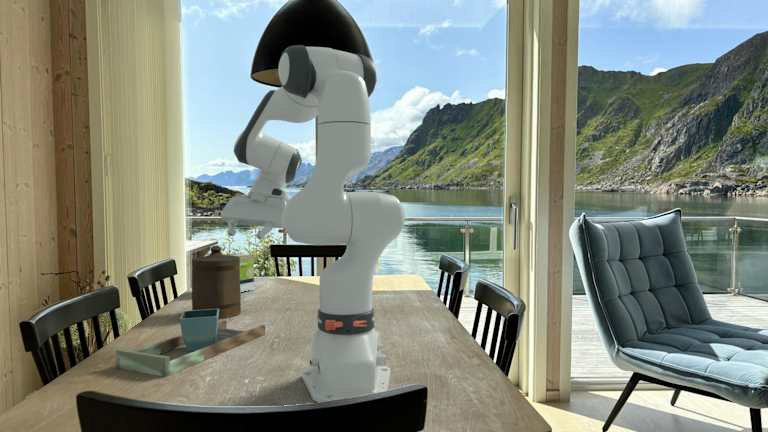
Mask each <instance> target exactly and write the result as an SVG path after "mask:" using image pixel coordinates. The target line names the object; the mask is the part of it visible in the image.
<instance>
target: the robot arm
mask: <svg viewBox="0 0 768 432" xmlns="http://www.w3.org/2000/svg"><path fill="white" fill-rule="evenodd" d="M277 71H278V79H279V83H280V86H281V87H279V88H277V89H271V90H269V91H268V92H266V94H265V95H264V96H263V98H262V100H261V101H260V103H259V104H258V105H257V107H256V110H255V111H254V112H253V114H252V116H251V117H250V119H249V121H248V123H247V125H246V126H245V128H244V130H243V131H242V132H241V133H240V134H239V135H238V137H237V138H236V140H235V142H234V146H233V153H234V155H235V158H236V160H237V161H238V162H239V163H242V164H244V165H247V166H250V167H253V168H255V169H258V170H259V173H258V176H257V178H255V180H254V182H253V183H252V186H251V188H250V189H249V191H248V193H247V194H243V195H242V194H236V196H233V197H231V198H230V200H228V202H227V203H226V205H225V206H224V207H223V209H222V211H221V212H220V217H221V218H222V220H223V221H224V222H225V223H226V224H228V230H227V231H226V233H227V235H228V236H229V237H235V236H236V233H237V230H236V229H235V227H237V225H243V226H253V227H263V228H262V229H261V230H259V229H258V231H257V233H256V234H255V237H257V239H258V240H259V239H260V240H264V239H265V237H266V235H268V233H270V232H271V231H272V230H273V229H274V228H275V229H276V228H277V229H284V230H285V233H286V234H287V236H288V237H289V238H290V239H291V240H292V241H293V242H295V243H299V244H305V245H306V244H307V245H311V246H312V245H313V246H325V245H328V246H331V245H333V246H334V245H346V249H345V252H344V254H343V255H342V256H341V257H340V258H338V259H336V260H335V261H333V262H331V263H330V264H328V265H327V266H326V267H324V269H323V270H322V271H321V274H320V275H319V308H318V310H317V318H316V320H317V327H318V329H317V330H316V332H315V333H314V334H312V336H311V337H310V361H309V365H310V368H308V369H304V370H302V371H301V379H302V381H303V383H304V384H305V387H306V388H307V390H308V392H309V394H310V397H311V398H312V401H314V402H317V403H321V401H329V400H335V399H341V398H349V397H354V396H361V395H367V394H372V393H378V392H383V391H387V390H388V391H389V385H390V377H391V368H390V367H389V366H387V363H386V361H387V359H386V358H387V355H386V354H381V351H384V344H383V343H381V334H380V332H378V331H377V330H376V328H375V309H374V308H373V285H374V274H375V270H376V265H377V264H378V261H379V259H380V257H381V255H382V253H383V252H384V250H385V249H386V248H387V247H388V246H389V245H390V243H392V242H393V241H395V239H397V238H398V237H399V235H401V232H402V231H403V229H404V226H405V220H406V213H405V210H404V207H403V204H402V203H401V201H400V200H399V198H398V197H396V195H392V194H388V193H381V192H377V191H344V189H345V188H344V187H345V184H346V181H347V179H349V178H351V177H352V176H355V175H357V174H359V173H360V172H362V171H363V170H365V169H366V168H367V166H368V165H369V163H370V161H371V159H372V144H371V143H372V140H371V139H372V135H371V132H372V131H371V130H372V128H371V127H372V126H371V125H372V124H371V123H372V121H371V107H370V101H369V97H371V95H372V94H373V93H374V91H375V88H376V83H377V69H376V66H375V64H374V62H373V60H372V59H371V58H370V57H367V56H365V55H363V54H360V53H352V52H347V51H343V50H338V49H333V48H332V47H331V48H330V47H322V46H305V45H303V44H297V45H290V46H288V47H287V48H285V49H284V51H282V53H281V56H280V59H279V61H278V70H277ZM316 117H317V147H316V148H317V151H316V161H315V166H314V168H313V172H312V174H311V176H310V178H309V179H308V181H307V183H305V185H304V186H303V188H301V189H300V190H299V191H298V192H297V193H296V194H294V195H293V196H292V197H290V195H289V194H288V192H287V191H285V188H286V187H287V186H288V184H289V183H291V182H292V181H294V180H295V178H296V176H297V175H296V174H297V173H298V171H299V169H300V168H301V164H302V161H303V159H302V157H301V154H300V151H299V150H298V149H297V148H295V147H293V146H291V145H290V144H288V143H286V142H283V141H280V140H278V139H276V138H274V137H271V136H269V135H267V134H266V133H264V132H263V131H262V130H263V129H264V127H265V125H266V124H267V122H268V121H282V122H288V123H293V124H303V123H307V122H311V121H313V120H314V119H316Z"/></svg>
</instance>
